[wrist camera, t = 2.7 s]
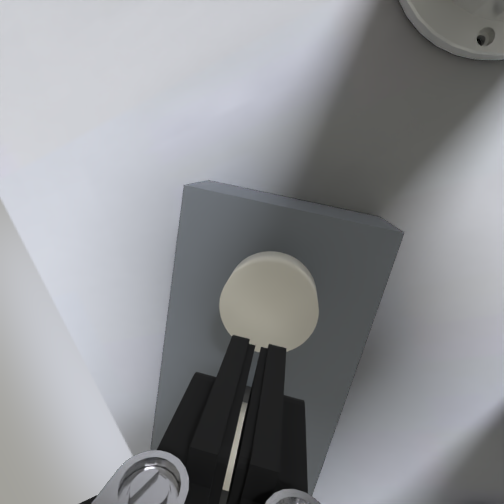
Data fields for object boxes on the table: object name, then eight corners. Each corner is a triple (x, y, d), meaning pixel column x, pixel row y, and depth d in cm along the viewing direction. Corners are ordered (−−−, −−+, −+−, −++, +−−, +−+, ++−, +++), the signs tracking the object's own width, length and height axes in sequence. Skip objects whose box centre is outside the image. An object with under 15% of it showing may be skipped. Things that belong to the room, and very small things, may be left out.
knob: (250, 224, 19) (228, 252, 13) (320, 240, 19) (330, 276, 13) (237, 288, 21) (212, 340, 15) (303, 304, 20) (305, 364, 14)
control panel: (208, 180, 22) (184, 184, 17) (380, 216, 21) (404, 232, 16) (167, 455, 30) (142, 510, 25) (291, 491, 29) (290, 556, 24)
